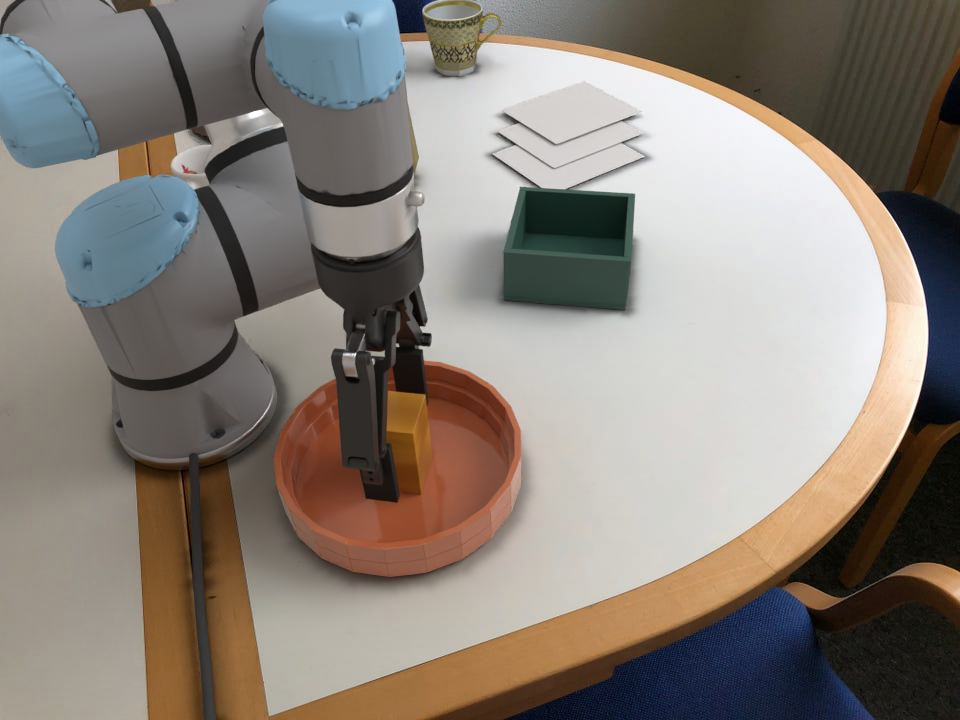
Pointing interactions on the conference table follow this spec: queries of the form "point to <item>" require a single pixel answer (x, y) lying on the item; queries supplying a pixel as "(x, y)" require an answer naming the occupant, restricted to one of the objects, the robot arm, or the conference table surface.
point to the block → (409, 439)
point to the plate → (200, 130)
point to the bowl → (416, 517)
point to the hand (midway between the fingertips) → (398, 447)
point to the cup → (191, 166)
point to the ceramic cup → (455, 34)
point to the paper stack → (569, 136)
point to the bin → (569, 248)
